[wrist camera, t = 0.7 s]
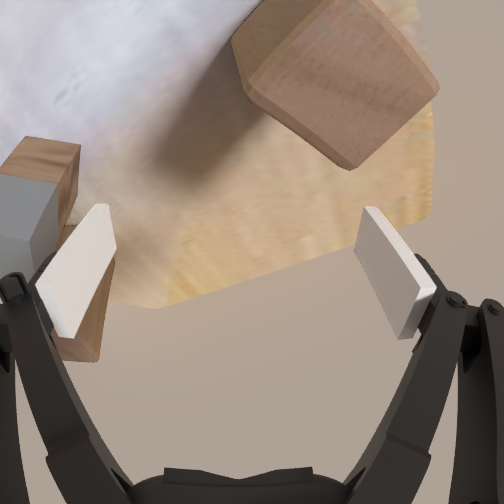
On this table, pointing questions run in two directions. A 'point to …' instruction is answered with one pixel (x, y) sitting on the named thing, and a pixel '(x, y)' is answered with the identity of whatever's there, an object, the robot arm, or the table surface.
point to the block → (86, 318)
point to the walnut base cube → (48, 168)
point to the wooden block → (332, 73)
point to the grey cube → (27, 224)
